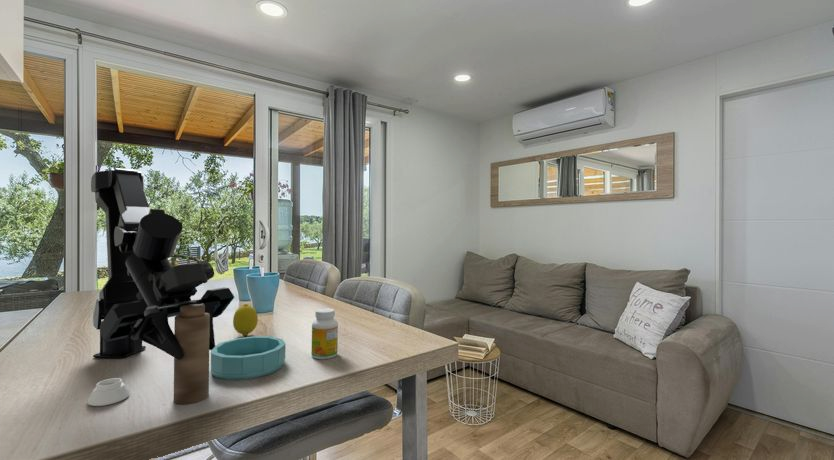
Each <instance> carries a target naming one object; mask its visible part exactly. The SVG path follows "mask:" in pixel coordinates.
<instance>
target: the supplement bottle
mask: <svg viewBox="0 0 834 460" xmlns="http://www.w3.org/2000/svg"><path fill="white" fill-rule="evenodd" d="M335 313H336V311H335V309H334V308H328V307H325V308H319V309H316V310H315V318H316V319H315V320H313V321H312V323H311V357H312V358H313V359H316V360H330V359H333V358H335V357H336V356H337V355H338V347H339V346H338V345H339V344H338V342H339V341H338V338H339V329H338V328H339V327H338V326H339V323H338V320H336V319H335V318H334V317H335V315H336V314H335Z"/></svg>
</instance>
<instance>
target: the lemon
mask: <svg viewBox="0 0 834 460" xmlns="http://www.w3.org/2000/svg"><path fill="white" fill-rule="evenodd" d="M232 324H233V328H234V330H235V331H236V332H237V333H239V334H241V335H242V336H243V337H248V335H249V334H250V333H252V332H253V331H255V329H256V327H257V326H258V312H257V311H256V308H254V307H253V306H251V305H249V304H248V303H244V304H243V305H241V306H240V307H238V308H237V309H235V312H234V315H233V319H232Z"/></svg>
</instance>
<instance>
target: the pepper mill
mask: <svg viewBox="0 0 834 460" xmlns="http://www.w3.org/2000/svg"><path fill="white" fill-rule="evenodd" d="M173 333H174V335H175V337H176V339H177V341H178V342H179V344H180V346H181V348H182V351H183V354H184V356H183V358H182V359H180V360H178V359H176V358H174V357H173V403H174V404H176V405H190V404H197V403H199V402H201V401H203V400H205V399H207V398H208V397H209V395H210V393H209V392H210V387H209V386H210V350H209V336H210V314H209V313H205V305H203V304H191V305H185V306H181V307H180V315H178V316H174V331H173Z"/></svg>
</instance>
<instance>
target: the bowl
mask: <svg viewBox="0 0 834 460" xmlns="http://www.w3.org/2000/svg"><path fill="white" fill-rule="evenodd" d="M285 360H286V342H285V341H284V340H283V338H279V337H276V336H275V337H274V336H271V335H270V336H269V335H268V336H263V335H262V336H259V335H253V336H243V337H239V338H238V337H237V338H233V339H229V340H225V341H223V342H219V343H218V344H215V347H214V348H213V349H212V350H210V374H211V376H213V377H214V378H217V379H221V380H228V381H239V380H240V381H241V380H250V379H255V378H261V377H264V376H268V375H270V374H273V373H275V372H278V371H279V370H281V369H282V368H283V367H284V365H285Z"/></svg>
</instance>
